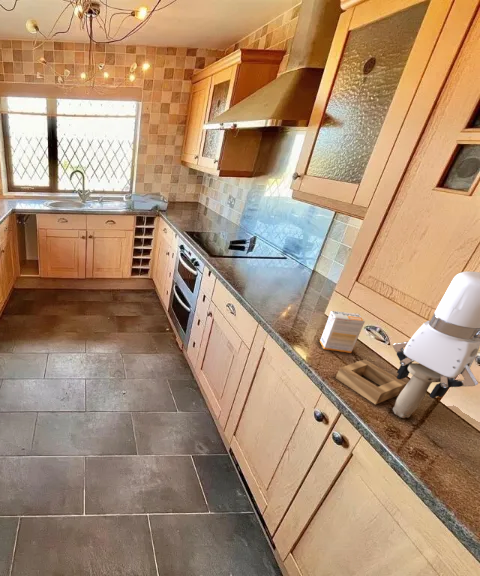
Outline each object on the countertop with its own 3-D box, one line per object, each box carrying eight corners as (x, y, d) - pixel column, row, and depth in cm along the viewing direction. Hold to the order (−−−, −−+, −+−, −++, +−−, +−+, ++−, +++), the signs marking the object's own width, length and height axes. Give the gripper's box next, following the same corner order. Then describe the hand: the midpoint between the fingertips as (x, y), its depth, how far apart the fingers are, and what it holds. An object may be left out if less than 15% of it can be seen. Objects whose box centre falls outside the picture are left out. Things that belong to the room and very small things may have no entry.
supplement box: (345, 345, 107) (359, 313, 101) (351, 353, 103) (366, 321, 97) (318, 341, 110) (330, 309, 104) (323, 349, 106) (335, 317, 100)
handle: (419, 425, 78) (450, 381, 71) (387, 416, 80) (414, 373, 74) (412, 411, 82) (440, 367, 75) (381, 403, 84) (406, 360, 77)
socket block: (359, 369, 97) (364, 359, 95) (401, 393, 87) (407, 383, 85) (335, 378, 93) (339, 367, 91) (375, 404, 84) (381, 393, 82)
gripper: (520, 344, 62) (473, 408, 70) (417, 305, 77) (387, 361, 85) (500, 352, 60) (454, 417, 68) (397, 310, 75) (369, 368, 83)
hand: (417, 386), depth 76 cm, fingers closed on handle, 6 cm apart
